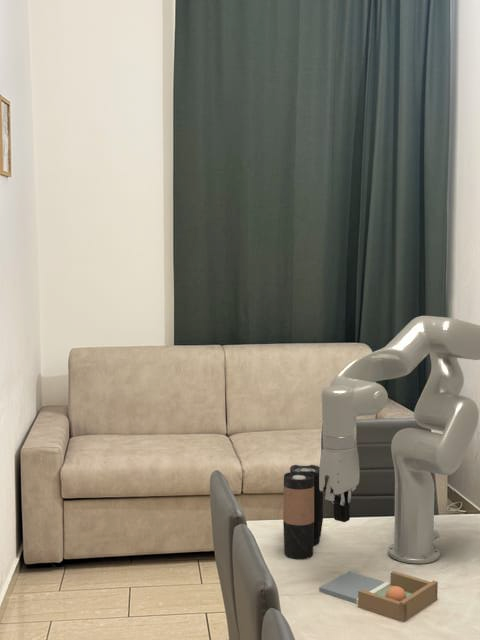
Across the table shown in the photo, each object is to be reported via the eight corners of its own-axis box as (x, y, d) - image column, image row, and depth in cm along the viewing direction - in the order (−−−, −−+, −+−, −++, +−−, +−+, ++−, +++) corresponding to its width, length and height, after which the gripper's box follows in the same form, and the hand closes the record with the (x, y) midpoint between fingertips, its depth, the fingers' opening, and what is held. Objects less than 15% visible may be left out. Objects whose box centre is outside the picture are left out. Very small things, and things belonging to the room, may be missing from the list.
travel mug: (305, 562, 206) (305, 481, 204) (277, 555, 210) (277, 476, 208) (319, 552, 213) (319, 474, 211) (292, 546, 217) (292, 469, 215)
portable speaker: (280, 539, 222) (280, 466, 220) (310, 533, 226) (311, 461, 224) (298, 550, 214) (299, 474, 212) (329, 543, 219) (329, 469, 217)
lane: (352, 573, 199) (352, 557, 199) (437, 599, 185) (437, 581, 184) (315, 593, 188) (316, 575, 188) (403, 622, 174) (403, 603, 174)
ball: (395, 604, 183) (385, 585, 184) (412, 599, 181) (403, 580, 181) (388, 613, 179) (379, 594, 180) (406, 608, 177) (396, 589, 178)
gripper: (344, 431, 198) (346, 507, 200) (306, 446, 187) (308, 526, 189) (372, 436, 193) (373, 513, 195) (334, 451, 182) (336, 534, 184)
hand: (341, 519), depth 192 cm, fingers closed
